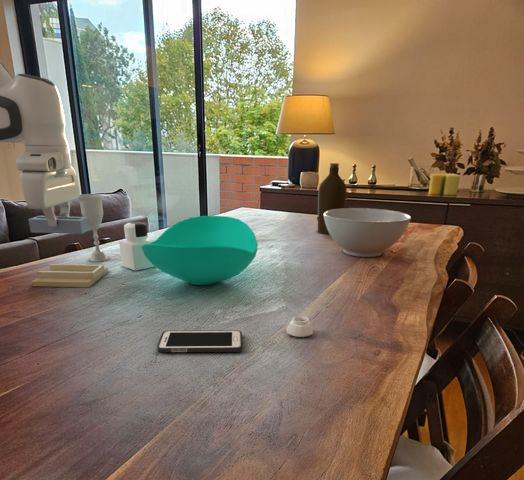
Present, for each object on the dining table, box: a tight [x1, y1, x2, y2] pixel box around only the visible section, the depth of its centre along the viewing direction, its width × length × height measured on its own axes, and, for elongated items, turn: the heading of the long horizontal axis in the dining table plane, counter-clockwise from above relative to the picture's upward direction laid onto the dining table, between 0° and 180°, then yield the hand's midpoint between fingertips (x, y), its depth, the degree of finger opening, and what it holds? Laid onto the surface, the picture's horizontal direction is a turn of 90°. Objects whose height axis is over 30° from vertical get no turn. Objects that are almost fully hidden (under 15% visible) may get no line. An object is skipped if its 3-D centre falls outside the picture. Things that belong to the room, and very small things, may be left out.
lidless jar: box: [286, 315, 314, 338], centre depth 87 cm, size 5×3×5 cm
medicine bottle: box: [119, 221, 156, 271], centre depth 127 cm, size 7×7×12 cm
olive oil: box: [316, 162, 348, 235], centre depth 174 cm, size 11×11×25 cm
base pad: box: [31, 263, 109, 288], centre depth 117 cm, size 14×14×3 cm
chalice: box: [77, 194, 109, 262], centre depth 132 cm, size 7×7×18 cm
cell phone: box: [156, 329, 243, 353], centre depth 82 cm, size 8×15×1 cm, turn 93°
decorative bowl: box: [324, 207, 412, 258], centre depth 146 cm, size 27×27×12 cm
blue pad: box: [28, 215, 91, 235], centre depth 107 cm, size 12×5×3 cm, turn 88°
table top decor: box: [142, 215, 259, 286], centre depth 114 cm, size 40×28×13 cm
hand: (59, 223), depth 107 cm, fingers closed on blue pad, 5 cm apart
